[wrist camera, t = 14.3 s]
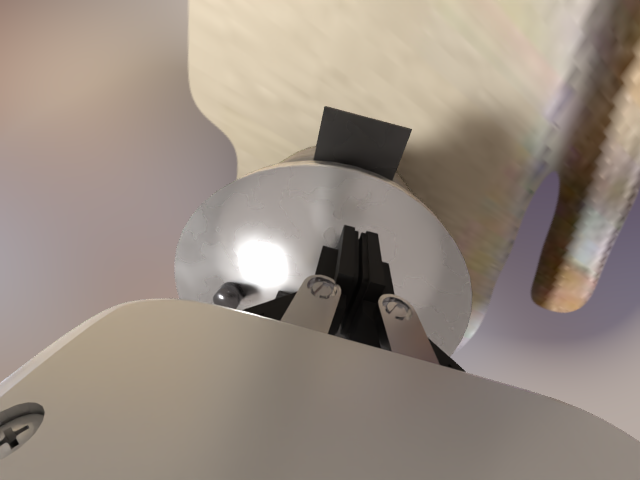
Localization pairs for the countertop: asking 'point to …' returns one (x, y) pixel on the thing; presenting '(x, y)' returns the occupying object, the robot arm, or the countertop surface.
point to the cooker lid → (320, 242)
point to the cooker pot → (358, 143)
